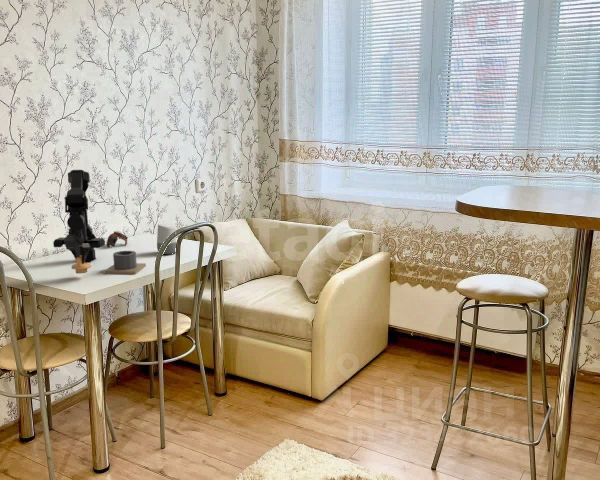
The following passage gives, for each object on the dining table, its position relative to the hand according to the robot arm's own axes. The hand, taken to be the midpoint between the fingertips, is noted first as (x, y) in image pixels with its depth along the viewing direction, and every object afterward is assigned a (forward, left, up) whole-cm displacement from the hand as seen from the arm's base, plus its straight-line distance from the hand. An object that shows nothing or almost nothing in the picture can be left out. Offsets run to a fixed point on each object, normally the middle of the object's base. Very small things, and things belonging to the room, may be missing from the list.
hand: (81, 263), depth 236 cm
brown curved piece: (-7, +56, -6) cm, 56 cm away
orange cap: (0, 0, -3) cm, 3 cm away
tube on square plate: (+13, +13, -6) cm, 19 cm away
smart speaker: (+22, +43, -6) cm, 49 cm away
